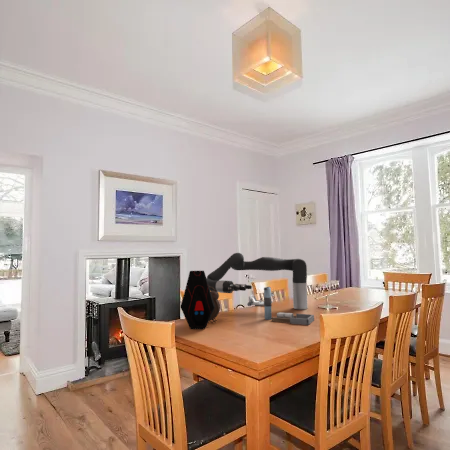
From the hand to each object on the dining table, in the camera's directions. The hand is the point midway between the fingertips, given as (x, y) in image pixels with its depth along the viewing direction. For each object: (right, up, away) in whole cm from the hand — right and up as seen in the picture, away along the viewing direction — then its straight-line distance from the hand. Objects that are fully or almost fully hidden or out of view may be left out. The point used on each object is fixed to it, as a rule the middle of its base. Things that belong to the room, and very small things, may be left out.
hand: (248, 288), depth 203 cm
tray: (+29, -16, -16) cm, 36 cm away
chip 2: (+22, -16, -12) cm, 30 cm away
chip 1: (+18, -16, -10) cm, 26 cm away
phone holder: (+12, -21, +43) cm, 49 cm away
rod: (+11, -17, -6) cm, 21 cm away
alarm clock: (-24, -17, -11) cm, 31 cm away
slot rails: (+19, -16, -11) cm, 28 cm away
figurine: (-28, -17, -24) cm, 41 cm away
